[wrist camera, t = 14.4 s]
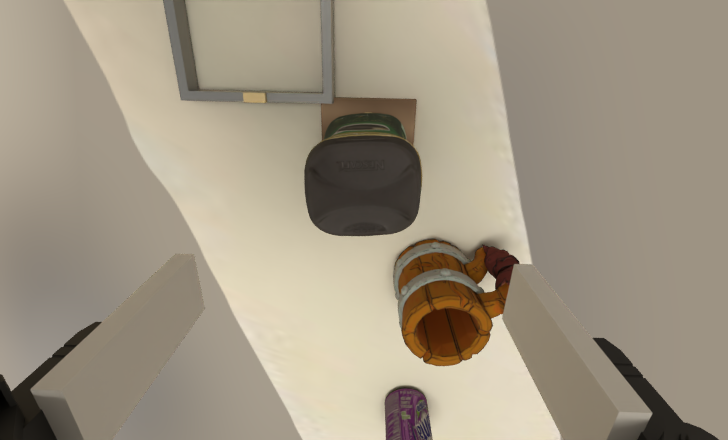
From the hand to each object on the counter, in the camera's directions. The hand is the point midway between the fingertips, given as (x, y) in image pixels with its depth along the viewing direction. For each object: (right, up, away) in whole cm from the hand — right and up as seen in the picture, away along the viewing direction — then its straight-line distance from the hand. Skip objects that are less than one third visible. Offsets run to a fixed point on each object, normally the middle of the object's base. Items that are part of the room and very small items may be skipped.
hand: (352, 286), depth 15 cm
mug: (+12, -3, +35) cm, 37 cm away
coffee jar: (+1, +12, +28) cm, 30 cm away
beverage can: (+8, -28, +46) cm, 54 cm away
